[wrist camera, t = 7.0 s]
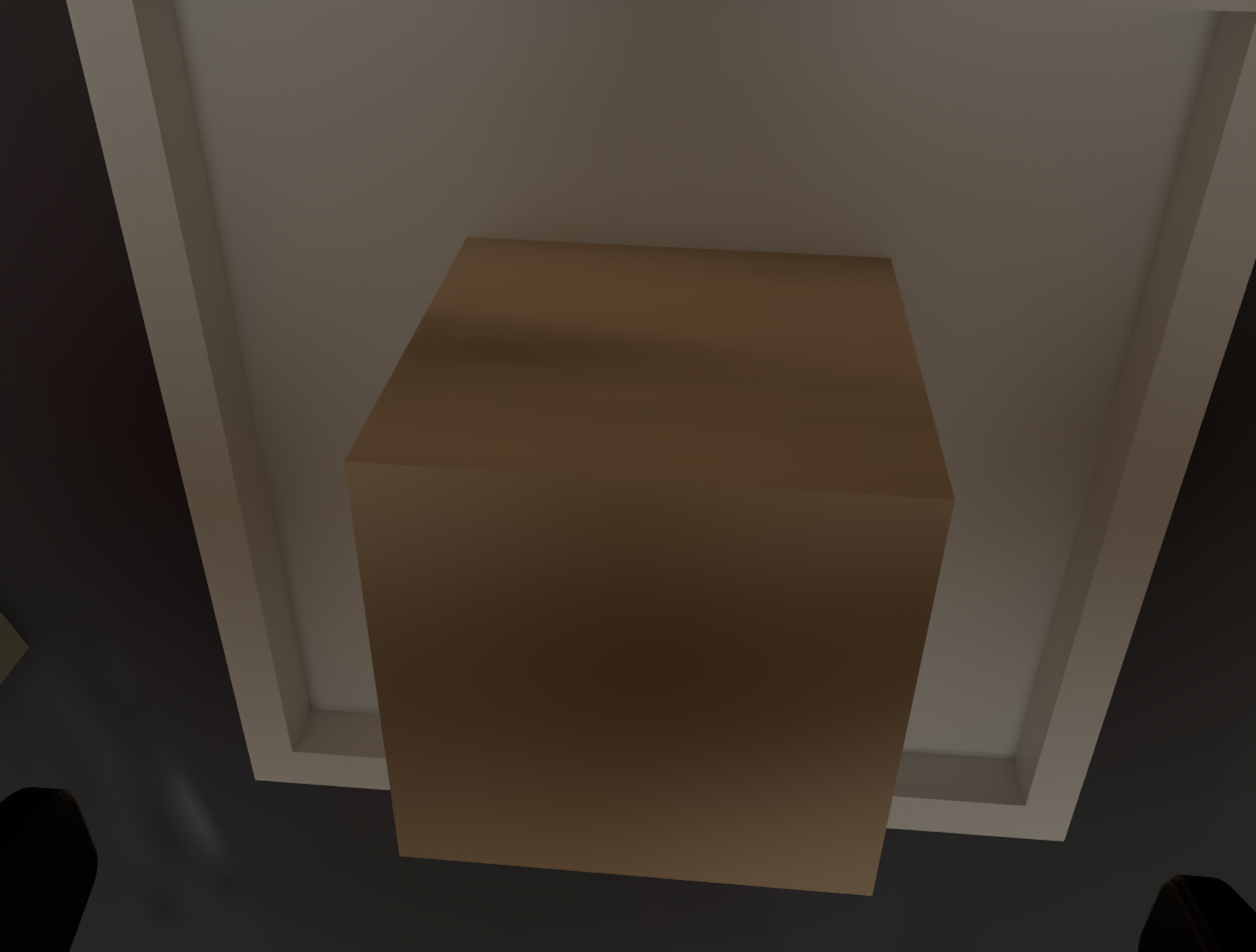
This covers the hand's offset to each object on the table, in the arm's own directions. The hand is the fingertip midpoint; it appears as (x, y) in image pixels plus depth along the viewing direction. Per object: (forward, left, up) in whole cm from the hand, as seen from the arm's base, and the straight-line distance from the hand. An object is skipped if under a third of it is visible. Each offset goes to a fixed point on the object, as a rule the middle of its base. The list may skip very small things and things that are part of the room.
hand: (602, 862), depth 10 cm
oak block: (0, 0, -7) cm, 7 cm away
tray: (0, 0, -7) cm, 7 cm away
